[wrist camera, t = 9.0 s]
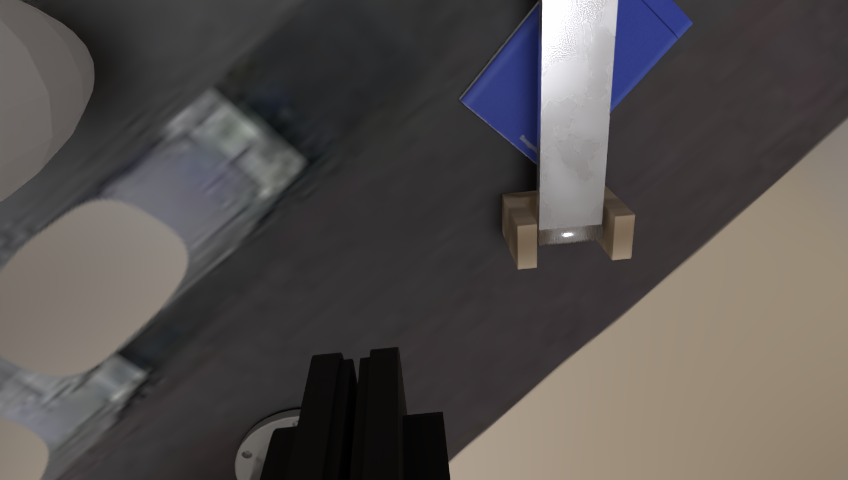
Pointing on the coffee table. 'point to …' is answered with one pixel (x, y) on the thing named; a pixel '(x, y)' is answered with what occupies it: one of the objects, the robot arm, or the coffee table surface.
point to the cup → (37, 90)
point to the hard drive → (518, 67)
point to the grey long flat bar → (573, 117)
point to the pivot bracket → (523, 227)
